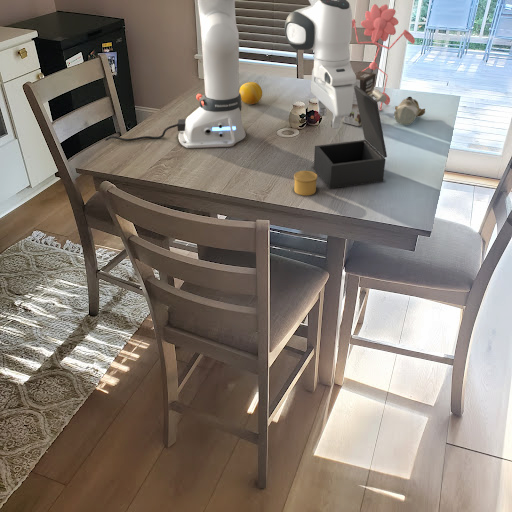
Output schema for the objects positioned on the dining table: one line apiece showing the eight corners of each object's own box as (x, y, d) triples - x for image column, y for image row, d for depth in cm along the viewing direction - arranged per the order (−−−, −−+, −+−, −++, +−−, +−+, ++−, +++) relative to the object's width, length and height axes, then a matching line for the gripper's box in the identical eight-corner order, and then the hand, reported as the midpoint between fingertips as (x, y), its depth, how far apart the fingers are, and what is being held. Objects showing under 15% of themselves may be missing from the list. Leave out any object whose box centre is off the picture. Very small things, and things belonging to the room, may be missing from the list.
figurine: (403, 114, 201) (418, 10, 181) (333, 106, 209) (340, 6, 189) (408, 100, 213) (423, 1, 193) (342, 93, 220) (349, -3, 200)
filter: (297, 197, 152) (298, 182, 149) (290, 186, 157) (291, 172, 154) (319, 194, 153) (320, 179, 151) (312, 183, 158) (312, 169, 156)
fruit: (235, 104, 212) (234, 83, 207) (246, 98, 218) (246, 77, 213) (255, 108, 208) (254, 87, 204) (266, 102, 214) (266, 81, 209)
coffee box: (359, 126, 192) (363, 80, 183) (342, 122, 195) (346, 76, 186) (371, 118, 198) (376, 73, 189) (355, 115, 201) (359, 70, 192)
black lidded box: (330, 188, 156) (331, 165, 152) (313, 167, 167) (314, 145, 163) (382, 181, 159) (385, 159, 155) (363, 161, 170) (365, 139, 166)
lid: (374, 103, 144) (392, 95, 144) (353, 86, 155) (370, 79, 155) (384, 158, 154) (401, 150, 155) (364, 138, 166) (380, 132, 166)
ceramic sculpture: (390, 99, 188) (399, 88, 200) (386, 124, 193) (396, 112, 204) (421, 104, 184) (430, 93, 196) (417, 129, 189) (425, 117, 201)
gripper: (305, 58, 147) (304, 109, 155) (334, 81, 130) (331, 137, 138) (328, 56, 148) (325, 106, 156) (359, 78, 132) (354, 134, 140)
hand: (328, 121), depth 147 cm, fingers open, 8 cm apart
